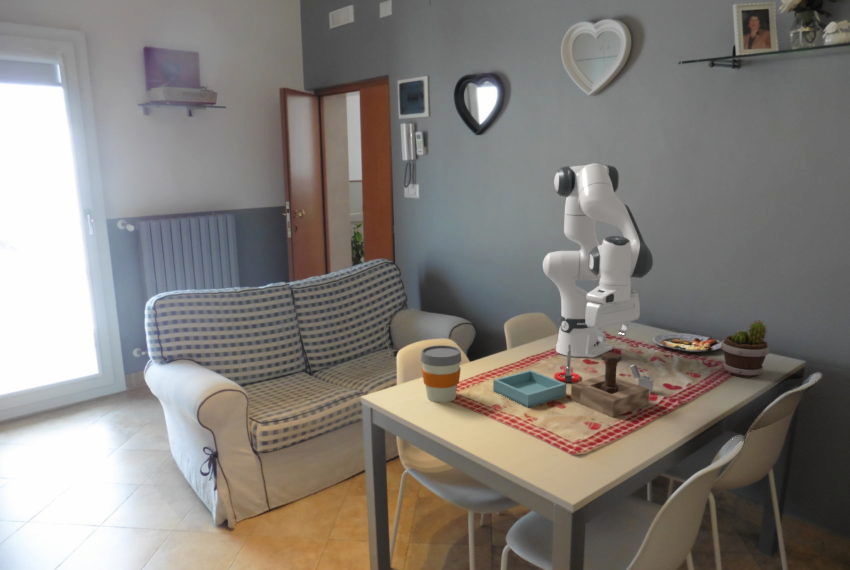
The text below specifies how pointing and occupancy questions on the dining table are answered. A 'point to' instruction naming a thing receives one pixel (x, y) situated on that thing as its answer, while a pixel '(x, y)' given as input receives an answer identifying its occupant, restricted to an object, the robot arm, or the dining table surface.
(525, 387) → the tray
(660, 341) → the food plate
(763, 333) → the flowerpot
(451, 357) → the reusable coffee cup
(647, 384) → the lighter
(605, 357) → the bolt
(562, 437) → the dining table surface
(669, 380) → the dining table surface
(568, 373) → the red valve handwheel
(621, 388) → the socket block
